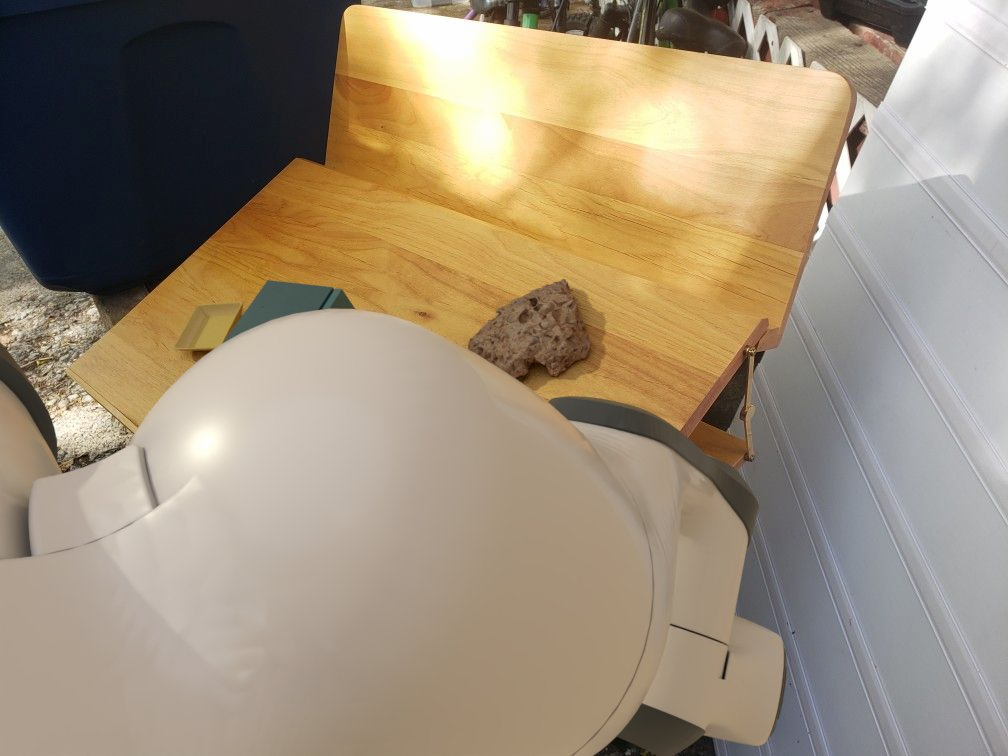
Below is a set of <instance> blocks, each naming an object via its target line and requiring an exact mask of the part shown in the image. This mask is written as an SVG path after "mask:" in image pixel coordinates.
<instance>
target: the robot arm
mask: <svg viewBox="0 0 1008 756" xmlns="http://www.w3.org/2000/svg"><path fill="white" fill-rule="evenodd" d="M141 421H142V422H141V423H140V424H139V425H138V428H137V429H136V430H135V432H134V433H133V435H132V436H131V439H130V441H129V443H128V444H127V446H126V447H124V448H122V449H120V450H118V451H115V452H114V453H113V454H111V455H109V456H107V457H105V458H103V459H101V460H98V461H95V462H93V463H91V464H88V465H86V466H84V467H80V468H77V469H73V470H70V471H66V472H63V471H62V469H61V467H60V466H59V464H58V459H59V449H58V438H57V434H56V429H55V426H54V422H53V420H52V417H51V413H49V411H48V408H47V407H46V404H45V403H44V401H43V399H42V398H41V396H40V395H39V393H38V391H37V390H36V389H35V386H34V385H33V384H32V382H31V380H30V379H29V378H28V376H27V374H26V373H25V372H24V370H23V369H22V367H21V366H20V365H19V364H18V362H17V361H16V360H15V358H14V357H13V356H12V354H11V353H10V352H9V350H8V349H7V347H5V346H4V344H3V343H1V341H0V756H595V755H597V754H598V753H599V752H601V751H602V750H603V749H605V748H606V747H607V746H609V744H610V743H612V741H614V739H616V738H619V739H621V740H624V741H625V742H628V743H630V744H633V745H635V746H637V747H639V748H641V749H644V750H645V751H648V752H650V753H651V754H653V755H655V756H676V755H678V754H679V753H680V752H683V751H684V750H685V749H687V748H688V747H690V746H692V745H693V744H694V743H696V742H697V741H698V740H699V739H701V738H702V737H703V736H705V737H709V738H713V739H717V740H722V741H727V742H732V743H737V744H741V745H746V746H754V747H758V746H763V745H764V744H766V742H768V740H769V739H770V738H771V737H772V735H773V734H774V732H775V730H776V727H777V724H778V721H779V719H780V716H781V713H782V709H783V704H784V699H785V692H786V684H787V673H788V667H787V650H786V648H785V643H784V642H783V640H782V637H781V636H780V635H779V634H778V633H776V632H775V631H772V630H770V629H769V628H766V627H765V626H763V625H760V624H758V623H756V622H753V621H751V620H750V619H749V620H748V619H746V618H743V617H741V616H739V615H737V614H736V610H737V603H738V599H739V593H740V587H741V582H742V577H743V572H744V566H745V561H746V555H747V550H748V549H749V546H750V543H751V539H752V535H753V532H754V529H755V524H756V521H757V518H758V514H759V511H760V505H759V502H758V500H757V498H756V495H755V494H754V493H753V490H752V489H751V487H750V485H749V484H748V483H747V481H746V480H745V479H744V477H743V476H742V475H741V474H740V472H739V471H738V470H737V469H736V468H735V467H734V466H732V465H730V464H729V463H727V462H725V461H722V460H720V459H718V458H716V457H714V456H711V455H709V454H707V453H705V452H704V451H703V450H702V449H700V448H699V446H698V445H696V444H695V443H694V442H693V441H692V440H691V439H690V438H688V437H687V435H685V433H683V432H682V431H680V430H679V429H678V428H676V427H675V426H674V425H672V423H670V422H668V421H667V420H666V419H664V418H662V417H661V416H659V415H657V414H655V413H653V412H651V411H650V410H647V409H645V408H641V407H639V406H636V405H633V404H629V403H625V402H621V401H616V400H611V399H607V398H600V397H599V398H598V397H594V396H593V397H592V396H578V395H577V396H576V395H571V396H570V395H567V396H557V397H553V398H551V399H549V400H548V401H547V400H545V399H544V398H543V397H542V396H541V395H539V394H538V393H537V392H535V391H533V390H532V389H531V388H530V387H529V386H527V385H525V384H524V383H523V382H521V381H520V380H518V379H517V378H514V377H512V376H511V375H509V374H508V373H506V372H505V371H503V370H501V369H500V368H498V367H497V366H495V365H493V364H492V363H490V362H489V361H487V360H486V359H484V358H482V357H481V356H479V355H478V354H476V353H474V352H472V351H470V350H468V347H467V348H466V347H465V346H463V345H461V344H459V343H457V342H455V341H453V340H452V339H450V338H447V337H446V336H443V335H441V334H439V333H438V332H436V331H434V330H432V329H430V328H429V327H427V326H424V325H421V324H418V323H416V322H413V321H410V320H408V319H405V318H402V317H398V316H396V315H393V314H390V313H386V312H379V311H374V310H368V309H358V308H355V309H324V310H316V311H309V312H302V313H296V314H291V315H288V316H284V317H281V318H277V319H274V320H271V321H268V322H266V323H264V324H261V325H259V326H256V327H254V328H252V329H249V330H247V331H245V332H243V333H241V334H239V335H237V336H235V337H233V338H232V339H230V340H228V341H226V342H224V343H223V344H221V345H219V346H218V347H216V348H215V349H214V350H210V351H209V352H208V353H207V354H205V355H203V356H202V357H201V358H200V359H198V361H196V362H195V363H194V364H193V365H192V366H190V367H189V368H188V369H187V370H186V371H184V373H182V374H181V376H179V377H178V379H176V380H175V382H173V384H172V385H170V387H169V388H168V389H167V390H166V391H165V392H164V393H163V394H162V395H161V397H160V398H159V399H158V401H157V402H156V403H155V404H154V405H153V406H152V408H151V409H150V410H149V412H148V413H147V414H146V415H145V417H144V419H142V420H141Z"/></svg>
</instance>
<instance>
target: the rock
mask: <svg viewBox="0 0 1008 756" xmlns="http://www.w3.org/2000/svg"><path fill="white" fill-rule="evenodd" d="M579 304H580V300H578V299H577V298H576V297H575V296H574V294H573V293H572V289H571V286H570V285H569V282H568V281H567V279H566V278H562V279H560V280H559V281H554V282H552V283H550V284H548V283H547V284H546V285H545V284H544V285H543V286H541V287H539V288H534V289H533V290H531V291H529V292H528V293H527V294H524V295H522V296H521V297H516V298H514V299H512V300H511V301H509V302H508V304H507V305H503V306H499V307H498V308H496V309H495V314H497V315H496V316H495V317H493V318H491V319H488V320H487V322H486V324H484V325H483V326H481V328H480V329H479V330H478V331H477V332H476V333H475V334H473V336H472V337H471V338H470V339H469V341H468V343H467V349H468V350H470V351H472V352H474V353H476V354H478V355H479V356H481V357H482V358H484V359H486V360H487V361H489V362H490V363H492V364H493V365H495V366H497V367H498V368H500V369H501V370H503V371H505V372H506V373H508V374H509V375H511V376H512V377H514V378H515V379H517V378H521V376H525V375H527V374H529V373H530V372H529V368H531V366H532V364H541V365H543V366H545V368H546V369H547V374H548V375H549V376H551V377H558V376H559V375H560V374H561V373H563V372H565V371H566V370H567V368H570V367H571V365H572V364H573V363H575V362H576V361H581V360H583V359H584V360H585V359H587V356H589V354H590V348H591V344H592V343H591V341H590V337H589V334H586V333H585V331H584V330H583V329H584V328H585V327H586V323H585V321H584V320H583V319H582V318H581V316H580V314H581V313H580V312H581V311H580V310H579Z"/></svg>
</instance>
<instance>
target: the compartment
mask: <svg viewBox="0 0 1008 756" xmlns="http://www.w3.org/2000/svg"><path fill="white" fill-rule="evenodd" d="M334 290H335V288H334V287H333V286H327V285H326V286H325V285H317V284H316V285H315V284H309V283H308V284H307V283H298V282H289V281H280V280H271V279H267V280H266V282H265V283H264V285H263V286H262V287H261V289H260V290H259V292H258V293H257V295H255V297H254V298H253V300H252V301H251V302H250V304H249V306H248V307H247V308H246V309H245V311H244V312H243V314H241V317H240V320H239V321H238V322H237V324H236V325H235V327H234V328H233V329H232V331H231V332H230V334H229V335H228V336H227V338H226V339H225V341H224V342H226V341H228V340H230V339H232V338H233V337H235V336H237V335H239V334H241V333H243V332H245V331H247V330H249V329H252V328H254V327H256V326H259V325H261V324H264V323H266V322H268V321H271V320H274V319H277V318H281V317H284V316H288V315H291V314H296V313H302V312H309V311H316V310H322V308H323V307H324V305H325V304H326V302H327V300H328V299H329V297H330V296H331V294H332V293H333V291H334ZM224 342H223V343H224ZM223 343H222V344H223Z"/></svg>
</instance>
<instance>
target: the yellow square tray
mask: <svg viewBox="0 0 1008 756" xmlns="http://www.w3.org/2000/svg"><path fill="white" fill-rule="evenodd" d="M243 309H244V302H242V301H227V302H211V303H199V304H197V305H196V306H195V307H194V309H193V311H192V313H191V314H190V316H189V318H188V320H187V321H186V323H185V326H184V328H183V329H182V331H181V332H180V334H179V336H178V337H177V339H176V341H175V343H174V345H173V347H172V350H174V351H178V352H195V351H196V352H198V351H212V350H214V349H215V348H216V347H218V346H219V345H221V344H222V343H223V342H224V341H225V339H226V338H227V336H228V335H229V334H230V332H231V331H232V329H233V328H234V327H235V325H236V324H237V322H238V321H239V320H240V318H241V317H242V315H243V314H242V313H243Z"/></svg>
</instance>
